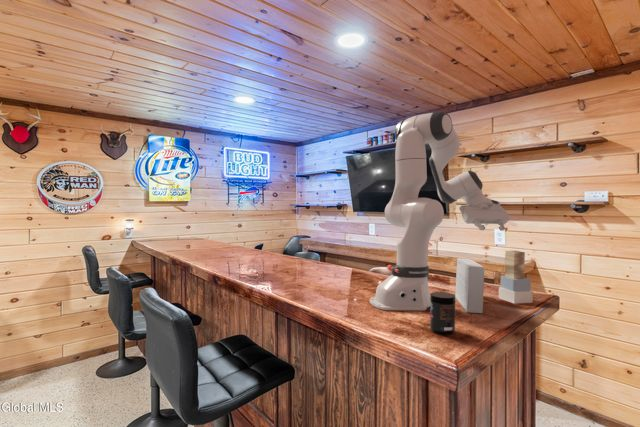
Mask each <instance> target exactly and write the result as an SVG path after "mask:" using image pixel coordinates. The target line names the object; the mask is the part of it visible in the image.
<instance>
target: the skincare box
mask: <svg viewBox="0 0 640 427" xmlns="http://www.w3.org/2000/svg"><path fill="white" fill-rule="evenodd" d="M455 278H456V279H455V294H454V295H455V300H456V301H458V303H459V304H460V305H461V306H462V308H463V309H464V310H465V311H466V312H467V313H473V314H483V312H484V311H483V309H484V308H483V307H484V306H483V305H484V287H485V286H484V284H485V266H483V265H482V264H479V263H478V262H476V261H474V260H472V259H471V258H460V257H458V258H456V276H455Z"/></svg>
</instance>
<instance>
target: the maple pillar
mask: <svg viewBox="0 0 640 427" xmlns="http://www.w3.org/2000/svg"><path fill="white" fill-rule="evenodd" d="M525 253H526V252H524V251H520V250H505V254H504V276H506V277H509V278H513V279H521V278H525V266H526V265H525V264H526V263H525V260H526V259H525V257H526V254H525Z"/></svg>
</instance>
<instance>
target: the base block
mask: <svg viewBox="0 0 640 427" xmlns="http://www.w3.org/2000/svg"><path fill="white" fill-rule="evenodd" d="M533 292H534V291H533V290H530V291H514V292H513V291H510V290H507V289H504V288H502V287H501V286H499V287H498V299H500V300H503V301H506V302H509V303H512V304H514V305H515V304H516V305H517V304H531V303H533V296H534V294H533Z"/></svg>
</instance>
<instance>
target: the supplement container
mask: <svg viewBox="0 0 640 427" xmlns="http://www.w3.org/2000/svg"><path fill="white" fill-rule="evenodd" d="M429 295H430V300H431V305H430V307H429V309H430V310H429V311H430V312H429V313H430V314H429V315H430V316H429V317H430V318H429V319H430V322H429V324H430V326H429V328H430V330H431V331H432V332H433V333H435V334H438V335H442V336H444V335H445V336H450V335H453V334H455V331H456V297H455V294H453V293H450V292H443V291H433V292H431V293H429Z"/></svg>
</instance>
